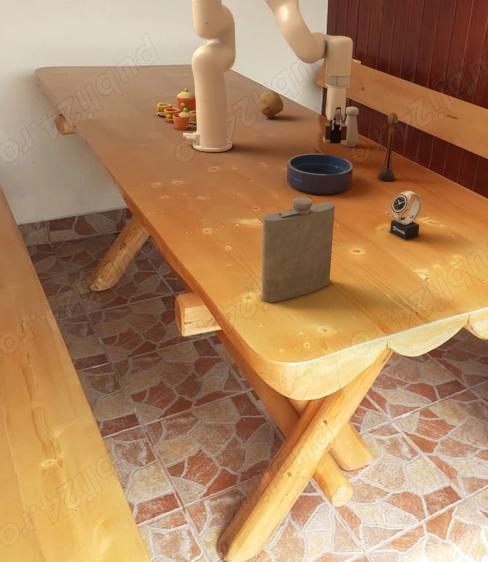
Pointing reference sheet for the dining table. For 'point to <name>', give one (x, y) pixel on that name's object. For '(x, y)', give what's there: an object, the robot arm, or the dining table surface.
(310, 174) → the bowl
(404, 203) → the watch
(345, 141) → the eraser
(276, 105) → the natural sponge
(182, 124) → the toy tea set
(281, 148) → the dining table surface
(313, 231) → the hip flask
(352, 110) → the salt shaker
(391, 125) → the wooden tabletop sculpture
